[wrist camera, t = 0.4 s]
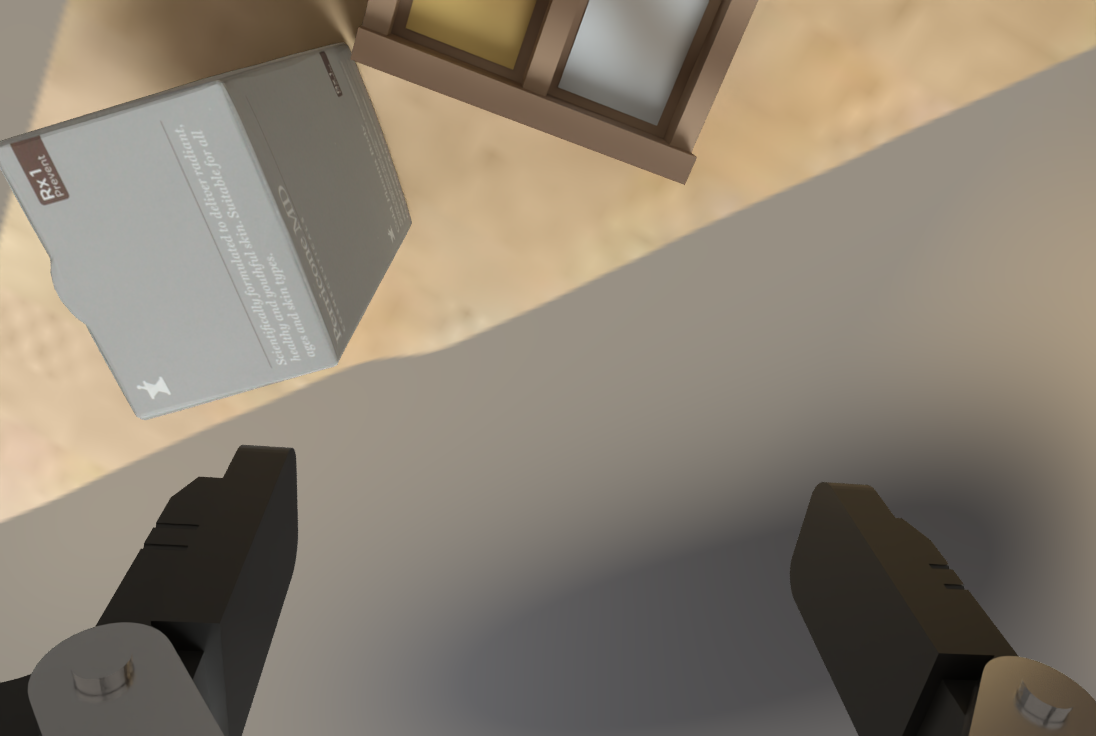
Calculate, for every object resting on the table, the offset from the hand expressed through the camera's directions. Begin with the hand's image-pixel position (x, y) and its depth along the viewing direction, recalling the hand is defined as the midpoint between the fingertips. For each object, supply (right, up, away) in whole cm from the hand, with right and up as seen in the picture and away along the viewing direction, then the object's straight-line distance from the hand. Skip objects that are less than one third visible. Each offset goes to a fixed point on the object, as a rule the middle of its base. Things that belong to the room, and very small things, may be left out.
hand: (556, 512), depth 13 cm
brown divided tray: (+1, +18, +21) cm, 27 cm away
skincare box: (-11, +12, +23) cm, 28 cm away
